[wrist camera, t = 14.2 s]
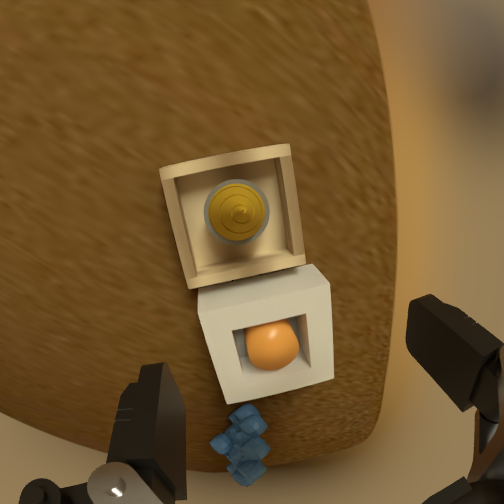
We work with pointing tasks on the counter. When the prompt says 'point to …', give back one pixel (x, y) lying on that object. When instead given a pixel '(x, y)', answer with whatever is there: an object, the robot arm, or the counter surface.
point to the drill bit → (236, 212)
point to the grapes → (243, 445)
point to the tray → (209, 247)
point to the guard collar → (263, 311)
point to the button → (271, 344)
